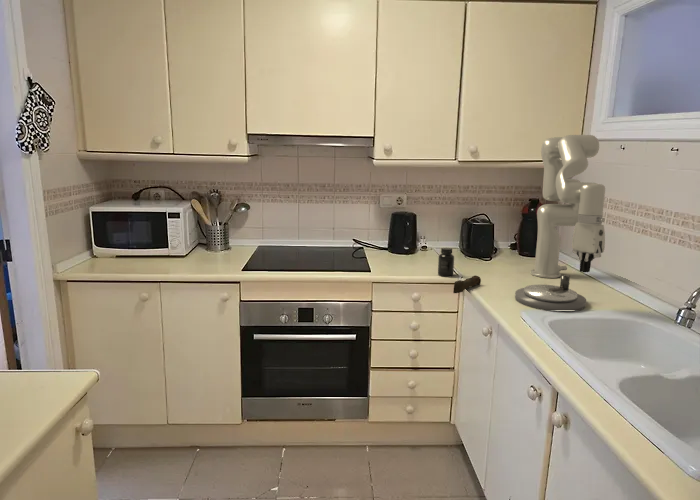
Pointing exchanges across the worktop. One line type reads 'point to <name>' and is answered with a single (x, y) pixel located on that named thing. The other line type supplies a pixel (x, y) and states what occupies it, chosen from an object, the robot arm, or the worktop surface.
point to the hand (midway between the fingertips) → (584, 271)
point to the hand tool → (466, 284)
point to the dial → (552, 292)
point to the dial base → (539, 304)
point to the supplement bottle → (446, 263)
